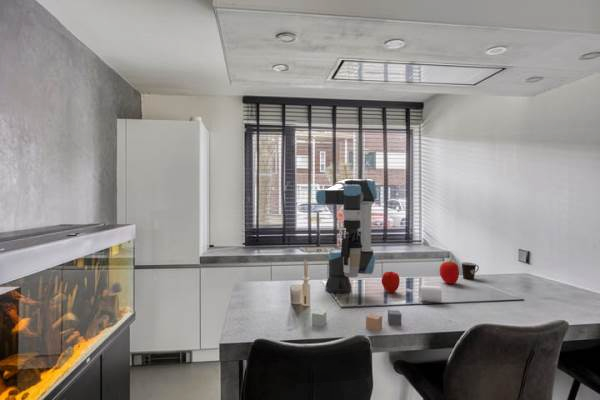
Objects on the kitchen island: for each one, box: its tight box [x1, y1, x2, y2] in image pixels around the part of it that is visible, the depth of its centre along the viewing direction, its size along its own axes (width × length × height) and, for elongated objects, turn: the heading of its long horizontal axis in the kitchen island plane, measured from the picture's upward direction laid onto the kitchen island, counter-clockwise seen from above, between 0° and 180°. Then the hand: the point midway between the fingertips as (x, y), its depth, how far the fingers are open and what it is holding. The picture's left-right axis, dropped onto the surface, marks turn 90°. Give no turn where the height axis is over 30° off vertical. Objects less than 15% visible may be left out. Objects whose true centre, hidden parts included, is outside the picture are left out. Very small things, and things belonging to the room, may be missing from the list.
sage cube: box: [311, 309, 327, 327], centre depth 149 cm, size 5×5×5 cm
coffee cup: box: [340, 241, 362, 278], centre depth 153 cm, size 9×9×15 cm
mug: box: [418, 285, 443, 303], centre depth 183 cm, size 12×10×8 cm
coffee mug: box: [461, 262, 480, 281], centre depth 230 cm, size 12×9×10 cm
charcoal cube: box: [387, 309, 402, 327], centre depth 150 cm, size 5×5×5 cm
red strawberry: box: [439, 260, 460, 285], centre depth 218 cm, size 13×11×14 cm
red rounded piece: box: [381, 271, 401, 294], centre depth 197 cm, size 10×10×12 cm
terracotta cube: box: [365, 313, 383, 332], centre depth 145 cm, size 5×5×5 cm
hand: (351, 270), depth 153 cm, fingers closed on coffee cup, 8 cm apart
